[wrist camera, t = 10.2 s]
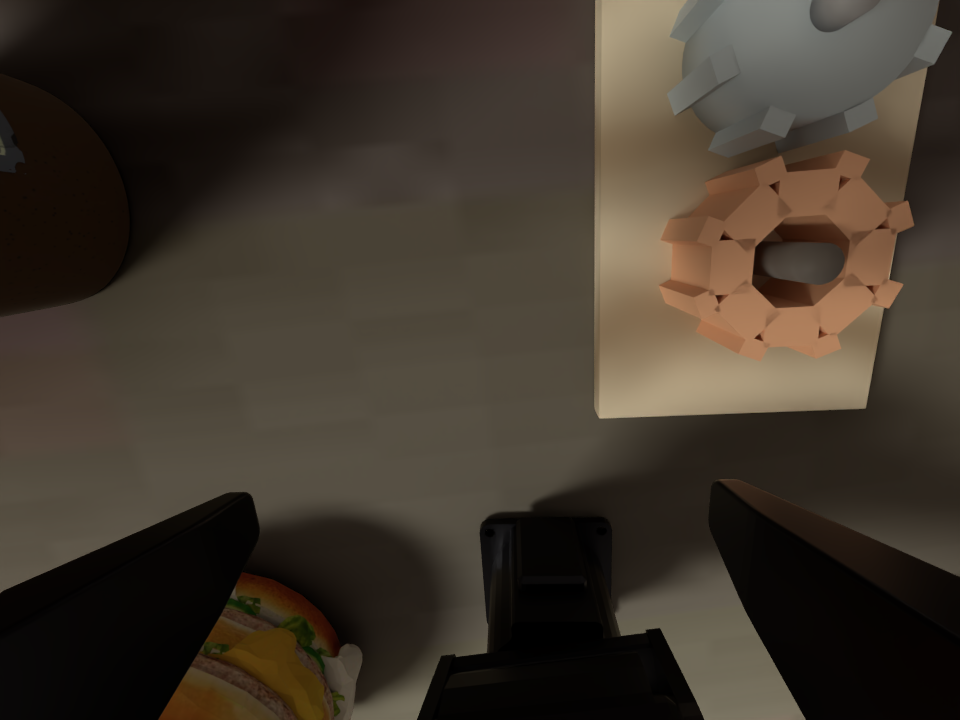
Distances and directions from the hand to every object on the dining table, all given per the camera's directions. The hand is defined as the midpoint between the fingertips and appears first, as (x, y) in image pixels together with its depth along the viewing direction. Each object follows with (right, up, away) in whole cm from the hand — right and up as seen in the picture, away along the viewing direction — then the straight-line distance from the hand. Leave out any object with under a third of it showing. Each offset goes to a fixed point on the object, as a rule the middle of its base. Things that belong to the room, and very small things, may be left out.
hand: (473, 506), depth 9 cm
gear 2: (+10, +7, +9) cm, 15 cm away
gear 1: (+10, +13, +7) cm, 18 cm away
